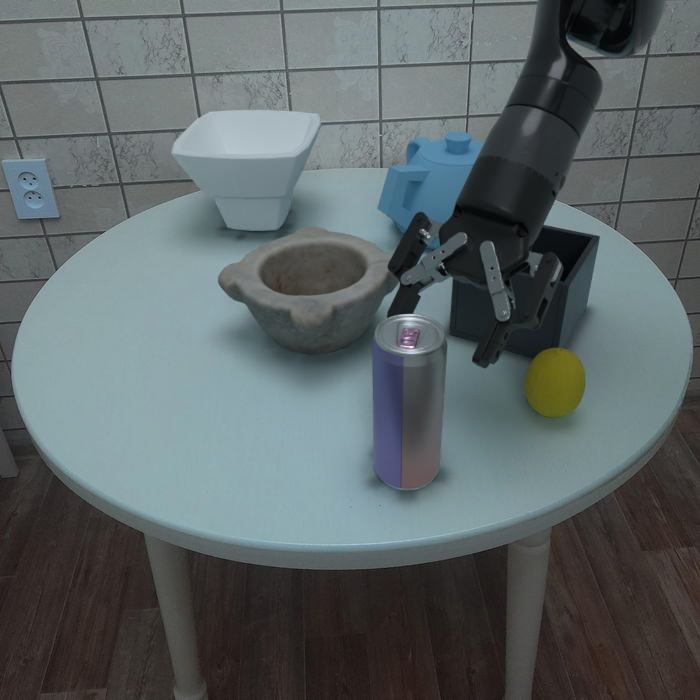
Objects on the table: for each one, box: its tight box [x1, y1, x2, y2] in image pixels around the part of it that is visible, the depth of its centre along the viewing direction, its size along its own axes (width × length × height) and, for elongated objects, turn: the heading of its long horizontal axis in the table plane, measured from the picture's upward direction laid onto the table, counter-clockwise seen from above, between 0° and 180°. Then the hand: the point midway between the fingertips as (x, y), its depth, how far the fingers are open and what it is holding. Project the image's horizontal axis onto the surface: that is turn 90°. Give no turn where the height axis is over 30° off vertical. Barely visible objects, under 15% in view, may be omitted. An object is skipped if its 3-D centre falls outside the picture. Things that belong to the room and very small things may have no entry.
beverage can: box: [371, 313, 448, 491], centre depth 61 cm, size 6×6×15 cm
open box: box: [448, 224, 601, 359], centre depth 82 cm, size 12×12×10 cm
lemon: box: [524, 348, 587, 419], centre depth 69 cm, size 6×6×8 cm
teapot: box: [376, 131, 485, 251], centre depth 101 cm, size 19×19×14 cm
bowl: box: [170, 109, 322, 232], centre depth 104 cm, size 19×19×14 cm
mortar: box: [217, 226, 400, 355], centre depth 81 cm, size 17×17×9 cm
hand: (435, 346), depth 61 cm, fingers open, 8 cm apart
